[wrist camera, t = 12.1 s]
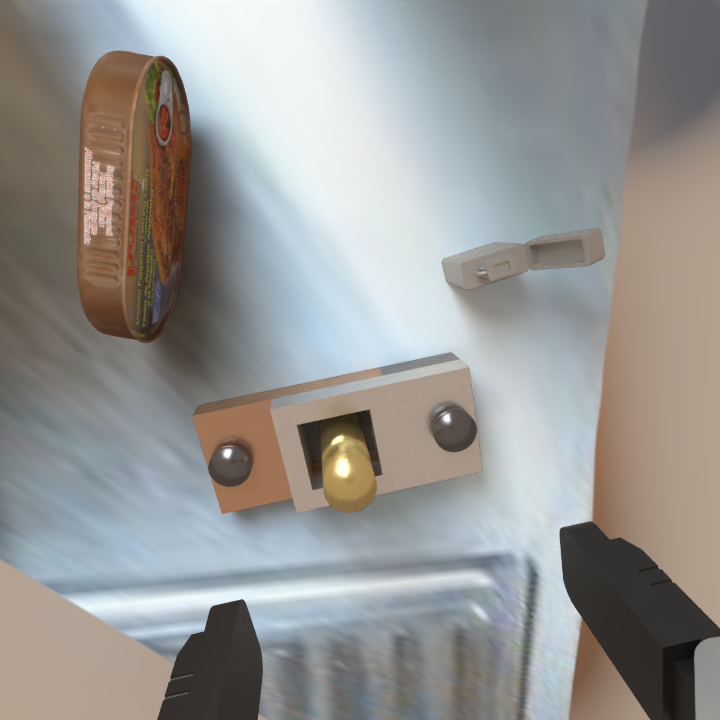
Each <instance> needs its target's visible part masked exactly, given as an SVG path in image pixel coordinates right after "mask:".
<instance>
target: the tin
mask: <svg viewBox="0 0 720 720" xmlns="http://www.w3.org/2000/svg"><path fill="white" fill-rule="evenodd" d="M190 154H191V130H190V115H189V107H188V102H187V96H186V92H185V89H184V85H183V82H182V79H181V77H180V74H179V72H178V70H177V68H176V67H175V65H174V64H173V62H171V61H170V59H168V58H166V57H164V56H156V57H153V56H148V55H143V54H138V53H133V52H127V51H112V52H109V53H107V54H105V55H103V56H102V57H101V58H100V59H99V60H98V62H97V63H96V64H95V66H94V67H93V69H92V71H91V73H90V75H89V78H88V81H87V84H86V88H85V92H84V97H83V102H82V109H81V128H80V157H79V189H78V193H79V200H78V248H77V279H78V290H79V296H80V300H81V304H82V307H83V310H84V312H85V314H86V316H87V319H88V320H89V321H90V323H91V324H92V325H93V326H94V327H95V328H96V329H97V330H98V331H100V332H102V333H104V334H107V335H111V336H116V337H122V338H129V339H135V340H139V341H140V342H143V343H149V342H152V341H154V340H155V339H156V338H158V337H159V335H160V334H161V333H162V331H163V330H164V328H165V326H166V324H167V323H168V321H169V318H170V316H171V314H172V311H173V309H174V306H175V302H176V299H177V295H178V290H179V284H180V277H181V268H182V257H183V243H184V231H185V217H186V204H187V193H188V180H189V167H190Z"/></svg>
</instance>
